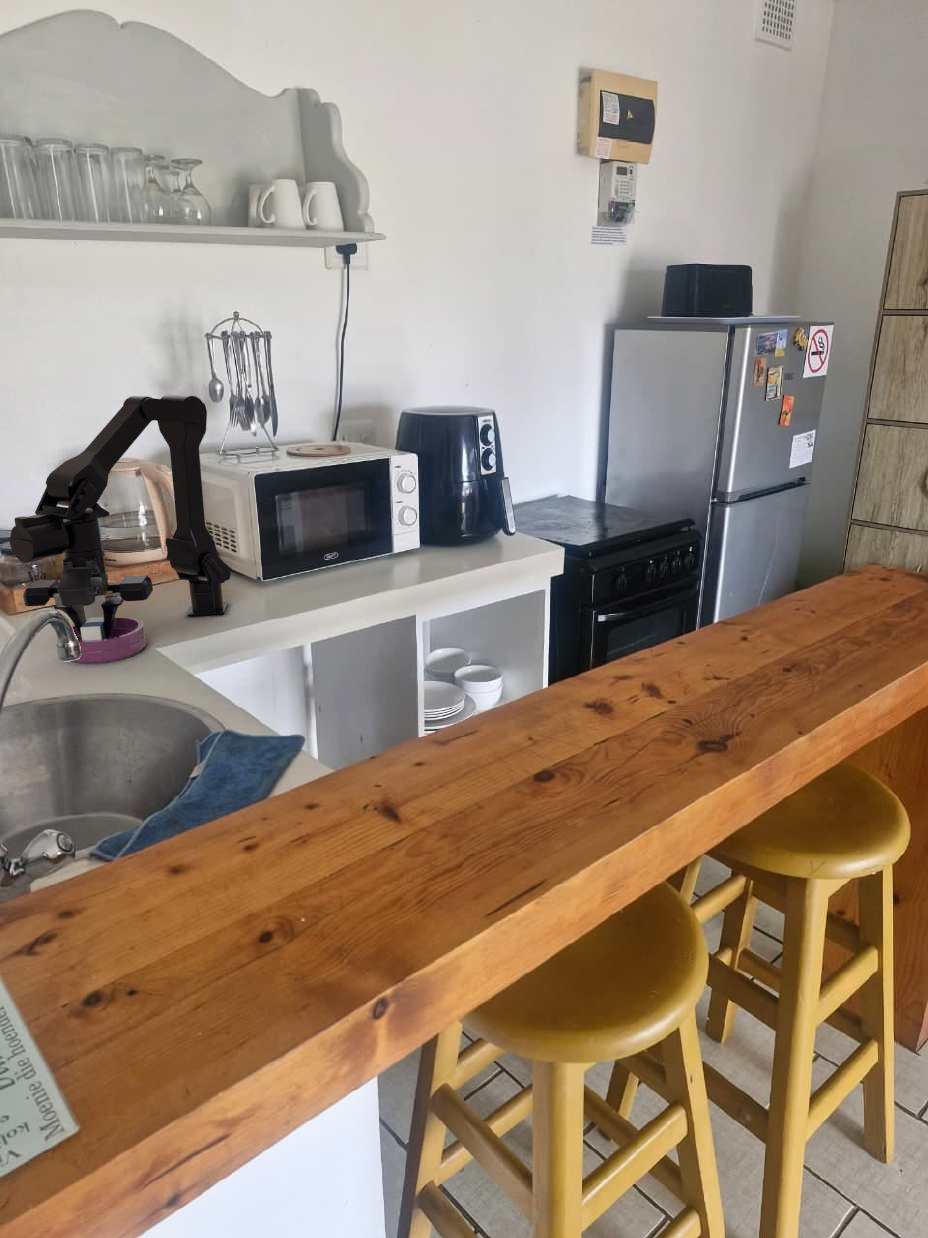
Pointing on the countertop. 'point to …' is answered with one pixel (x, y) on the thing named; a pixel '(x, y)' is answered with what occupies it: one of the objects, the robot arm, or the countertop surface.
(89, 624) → the eraser
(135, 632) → the bowl
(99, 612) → the flask
